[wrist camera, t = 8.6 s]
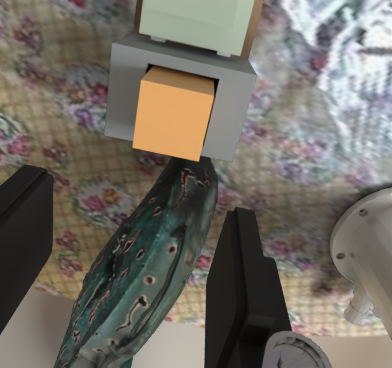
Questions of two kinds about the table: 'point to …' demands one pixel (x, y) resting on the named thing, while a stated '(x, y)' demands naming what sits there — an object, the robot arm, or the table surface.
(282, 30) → the table surface
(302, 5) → the table surface
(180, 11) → the carriage
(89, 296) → the green animal statue
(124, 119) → the grey block
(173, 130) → the button
